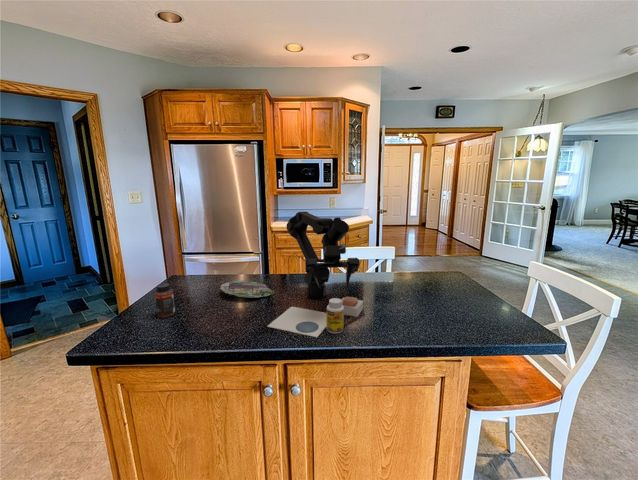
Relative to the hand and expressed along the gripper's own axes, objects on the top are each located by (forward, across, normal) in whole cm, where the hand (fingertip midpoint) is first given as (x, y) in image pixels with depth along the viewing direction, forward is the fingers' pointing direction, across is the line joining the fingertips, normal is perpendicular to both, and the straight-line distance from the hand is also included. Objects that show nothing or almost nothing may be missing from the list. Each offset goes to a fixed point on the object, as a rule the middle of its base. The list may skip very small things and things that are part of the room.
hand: (333, 287), depth 101 cm
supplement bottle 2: (+13, 0, +4) cm, 14 cm away
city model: (-12, -34, +30) cm, 47 cm away
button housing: (+3, +7, +14) cm, 16 cm away
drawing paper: (+8, -10, +9) cm, 16 cm away
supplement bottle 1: (+3, -60, +15) cm, 62 cm away
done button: (+1, +7, +13) cm, 15 cm away
